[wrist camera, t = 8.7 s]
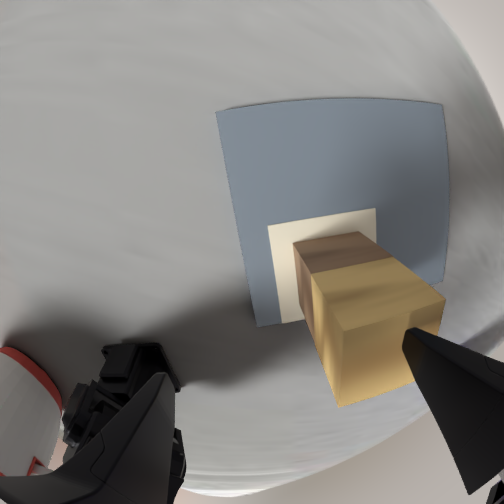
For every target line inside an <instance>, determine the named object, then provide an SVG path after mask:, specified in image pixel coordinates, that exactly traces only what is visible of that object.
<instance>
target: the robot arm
mask: <svg viewBox="0 0 504 504" xmlns="http://www.w3.org/2000/svg"><path fill="white" fill-rule="evenodd" d="M155 348H157V349H155ZM101 351H102V354H103V355H104V357H105V359H106V362H105V364H104V366H103V368H102V370H101V372H100V374H99V376H100V380H99V382H98V383H97V382H95V381H94V380H93V379H92V380H91V381H90V383H89V384H88V385H86V384H80V383H78V384H77V385H76V387H75V389H74V391H73V393H72V395H71V397H70V399H69V401H68V404H67V406H66V409H65V411H64V414H63V417H62V421H63V424H64V436H63V442H65V443H66V444H68V447H67V449H66V452H65V454H64V456H63V465H61V466H60V467H59V468H58V469H56V470H55V471H53V472H51V473H48V474H43V475H31V476H0V499H2V500H3V501H4V502H6V503H7V504H173V502H174V499H175V496H176V494H177V492H178V490H179V488H180V487H181V485H182V483H183V482H184V476H185V473H186V459H185V453H184V448H183V441H182V435H181V430H179V429H177V428H174V427H175V393H178V392H180V390H181V386H180V384H179V382H178V380H177V378H176V376H175V374H174V372H173V370H172V368H171V366H170V364H169V362H168V360H167V358H166V356H165V353H164V351H163V349H162V347H161V345H160V344H158V343H145V344H129V345H114V346H104V347H103V348H102V350H101ZM402 351H403V353H404V356H405V358H406V360H407V363H408V365H409V367H410V370H411V372H412V375H413V377H414V379H415V381H416V383H417V385H418V387H419V389H420V391H421V393H422V394H423V396H424V398H425V400H426V402H427V404H428V406H429V408H430V410H431V412H432V414H433V415H434V418H435V419H436V422H437V423H438V426H439V428H440V430H441V432H442V434H443V436H444V438H445V440H446V442H447V445H448V447H449V449H450V451H451V453H452V456H453V457H454V461H455V463H456V465H457V468H458V470H459V473H460V475H461V478H462V480H463V482H464V485H465V488H466V490H467V493H468V495H471V494H472V493H473V492H475V491H476V490H478V489H479V488H480V487H482V486H483V485H484V484H486V483H487V482H488V481H489V480H491V479H492V478H493V477H494V476H496V475H497V474H499V476H500V477H501V480H500V481H499V482H497V484H495V485H494V486H493V487H492V488H491V490H490V493H489V496H488V499H487V502H486V504H504V363H503V362H500V361H497V360H495V359H492V358H490V357H487V356H484V355H482V354H480V353H477V352H475V351H472V350H470V349H468V348H465V347H463V346H460V345H458V344H455V343H453V342H451V341H448V340H446V339H443V338H441V337H438V336H436V335H434V334H431V333H429V332H426V331H424V330H422V329H419V328H417V327H412V328H409V329H407V330H406V331H405V334H404V338H403V342H402Z"/></svg>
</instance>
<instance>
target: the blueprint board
mask: <svg viewBox="0 0 504 504" xmlns="http://www.w3.org/2000/svg"><path fill="white" fill-rule="evenodd" d="M216 117H217V123H218V128H219V134H220V139H221V144H222V150H223V155H224V161H225V166H226V171H227V177H228V182H229V187H230V192H231V198H232V203H233V208H234V213H235V219H236V224H237V229H238V234H239V239H240V244H241V250H242V255H243V260H244V265H245V270H246V275H247V280H248V285H249V290H250V295H251V300H252V305H253V310H254V315H255V320H256V325H257V327H263V326H268V325H274V324H279V323H282V324H283V323H288V322H293V321H298V320H303V319H305V317H304V315H303V312H302V310H301V307H300V305H299V297H298V287H297V278H296V269H295V260H294V252H293V244H292V243H295V242H301V241H306V240H312V239H317V238H323V237H329V236H334V235H340V234H345V233H351V232H356V231H359V232H361V233H362V234H363V235H365V236H366V237H368V238H369V239H370V240H372V241H373V242H375V243H376V244H377V245H379V246H380V247H382V248H383V249H384V250H386V251H387V252H388V253H390V254H391V255H392V256H393V257H394V258H395V259H397V260H398V261H399V262H401V263H402V264H403V265H405V266H406V267H407V268H408V269H410V270H411V271H412V272H413V273H415V274H416V275H417V276H419V277H420V278H421V279H422V280H423V281H425V282H426V283H427V284H428V285H432V284H435V283H438V282H441V281H443V275H444V268H445V260H446V251H447V240H448V226H449V163H448V149H447V139H446V130H445V122H444V115H443V109H442V105H440V104H433V103H425V102H416V101H405V100H391V99H365V98H341V99H314V100H299V101H288V102H278V103H269V104H261V105H254V106H247V107H241V108H235V109H229V110H224V111H218V112H216Z"/></svg>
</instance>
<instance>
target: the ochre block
mask: <svg viewBox="0 0 504 504" xmlns="http://www.w3.org/2000/svg"><path fill="white" fill-rule="evenodd" d="M311 284H312V298H313V314H314V332H315V347H316V349H317V352H318V355H319V357H320V360H321V362H322V365H323V368H324V370H325V373H326V375H327V378H328V381H329V383H330V386H331V389H332V391H333V394H334V397H335V399H336V402H337V405H338V408H339V407H342V406H346V405H349V404H353V403H356V402H359V401H362V400H365V399H368V398H371V397H374V396H377V395H380V394H383V393H386V392H388V391H391V390H394V389H396V388H399V387H401V386H404V385H406V384H409V383H411V382H414V381H415V379H414V377H413V375H412V372H411V370H410V367H409V365H408V363H407V360H406V358H405V356H404V353H403V351H402V342H403V338H404V334H405V331H406V330H407V329H409V328H412V327H417V328H419V329H422V330H424V331H426V332H429V333H431V334H434V335H436V336H437V334H438V330H439V326H440V323H441V318H442V314H443V310H444V305H445V301H446V299H445V298H444V297H443V296H442V295H440V294H439V293H438V292H437V291H436V290H434V289H433V288H432V287H431V286H430V285H428V284H427V283H426V282H425V281H423V280H422V279H421V278H420V277H419V276H417V275H416V274H415V273H413V272H412V271H411V270H410V269H408V268H407V267H406V266H405V265H403V264H402V263H401V262H399V261H398V260H397V259H395V258H394V257H389V258H385V259H380V260H376V261H371V262H367V263H362V264H357V265H352V266H348V267H343V268H338V269H333V270H328V271H323V272H318V273H313V274H311Z"/></svg>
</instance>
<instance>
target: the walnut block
mask: <svg viewBox="0 0 504 504" xmlns="http://www.w3.org/2000/svg"><path fill="white" fill-rule="evenodd" d="M292 244H293V252H294V260H295V269H296V278H297V287H298V297H299V305H300V307H301V310H302V312H303V315H304V317H305V320H306V322H307V325H308V327H309V330H310V332H311V335H312V337H313V340H314V342H315V332H314V314H313V298H312V284H311V274H313V273H318V272H323V271H328V270H333V269H338V268H343V267H348V266H352V265H357V264H362V263H367V262H371V261H376V260H380V259H385V258H389V257H393V256H392V255H391V254H390V253H388V252H387V251H386V250H384V249H383V248H382V247H380V246H379V245H377V244H376V243H375V242H373V241H372V240H370V239H369V238H368V237H366V236H365V235H363V234H362V233H361V232H359V231H356V232H351V233H345V234H340V235H334V236H329V237H323V238H317V239H312V240H306V241H301V242H295V243H292Z"/></svg>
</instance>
